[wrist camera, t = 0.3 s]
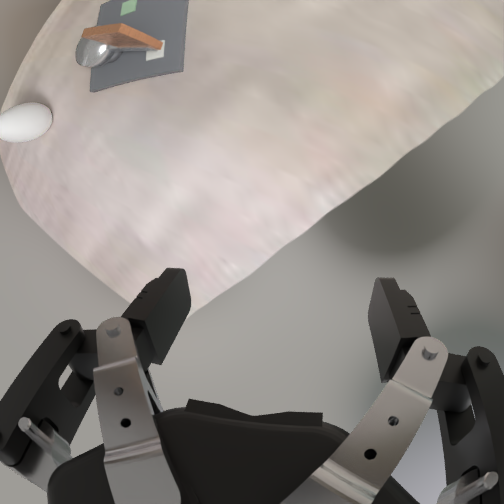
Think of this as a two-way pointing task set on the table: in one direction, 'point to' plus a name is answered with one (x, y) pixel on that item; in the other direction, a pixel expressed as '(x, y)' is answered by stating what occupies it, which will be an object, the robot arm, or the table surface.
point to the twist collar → (111, 43)
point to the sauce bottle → (24, 122)
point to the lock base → (153, 24)
